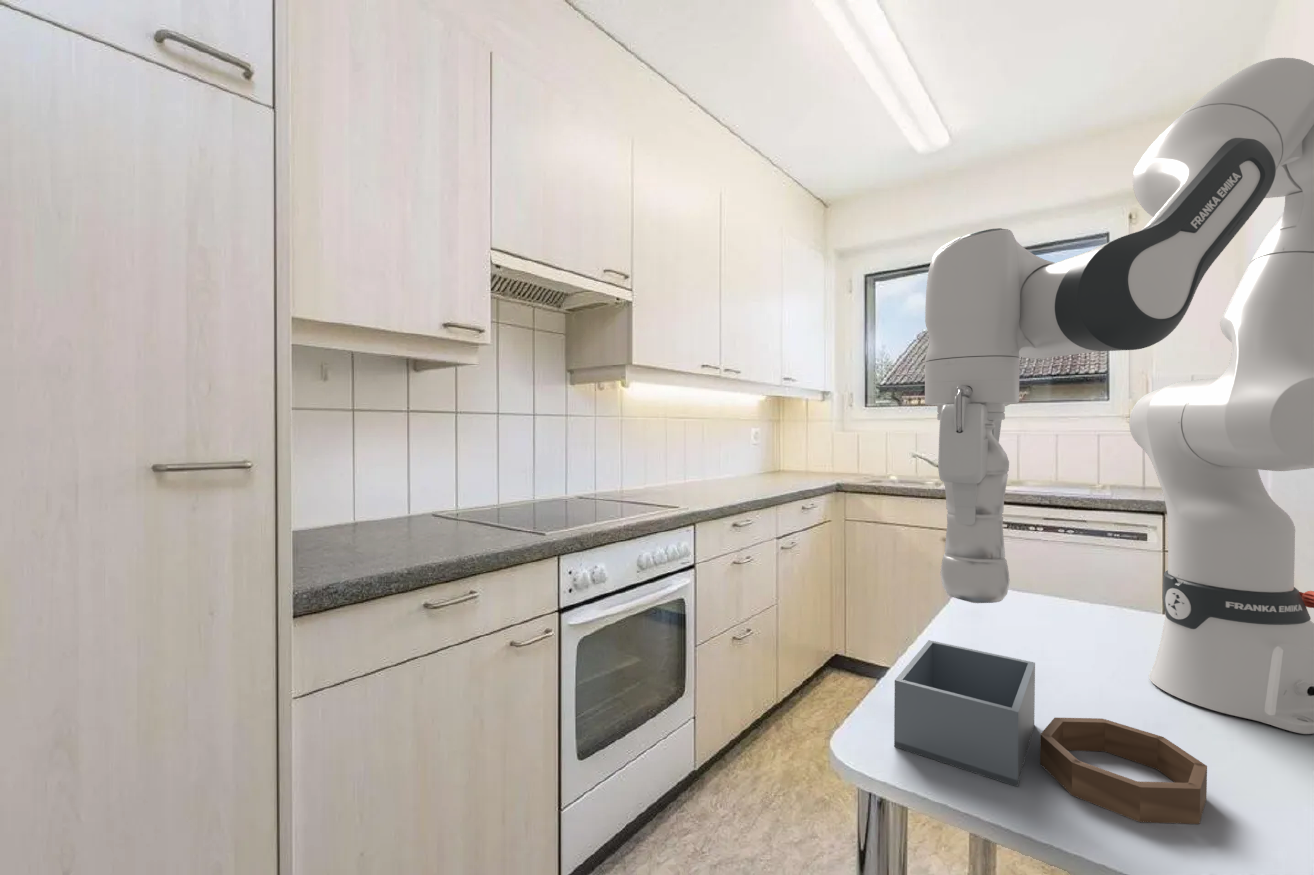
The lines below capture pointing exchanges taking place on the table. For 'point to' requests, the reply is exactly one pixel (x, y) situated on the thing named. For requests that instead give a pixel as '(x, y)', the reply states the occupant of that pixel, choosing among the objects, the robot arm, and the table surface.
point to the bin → (966, 709)
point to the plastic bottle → (979, 536)
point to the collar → (1114, 790)
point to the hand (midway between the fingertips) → (969, 518)
